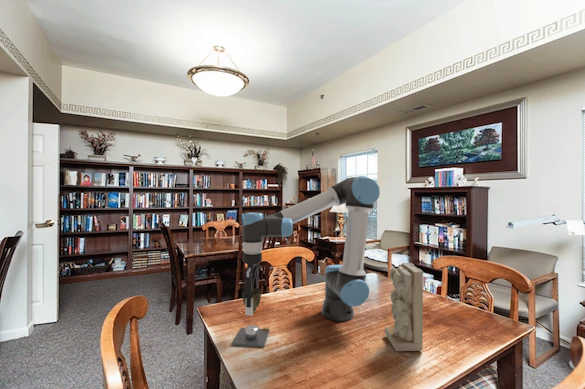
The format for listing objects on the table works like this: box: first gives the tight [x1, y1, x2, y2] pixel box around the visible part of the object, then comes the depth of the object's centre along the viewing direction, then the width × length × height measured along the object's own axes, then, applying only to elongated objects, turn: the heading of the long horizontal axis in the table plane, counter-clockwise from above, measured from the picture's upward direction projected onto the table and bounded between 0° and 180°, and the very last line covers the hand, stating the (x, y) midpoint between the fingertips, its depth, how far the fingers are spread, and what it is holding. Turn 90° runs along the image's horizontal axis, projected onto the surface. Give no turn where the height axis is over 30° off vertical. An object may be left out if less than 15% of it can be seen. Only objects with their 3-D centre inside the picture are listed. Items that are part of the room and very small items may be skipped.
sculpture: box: [384, 262, 424, 352], centre depth 105 cm, size 13×10×30 cm
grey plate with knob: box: [231, 324, 271, 348], centre depth 109 cm, size 12×12×4 cm
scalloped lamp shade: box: [241, 288, 263, 313], centre depth 109 cm, size 8×7×8 cm
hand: (251, 310), depth 109 cm, fingers closed on scalloped lamp shade, 7 cm apart
